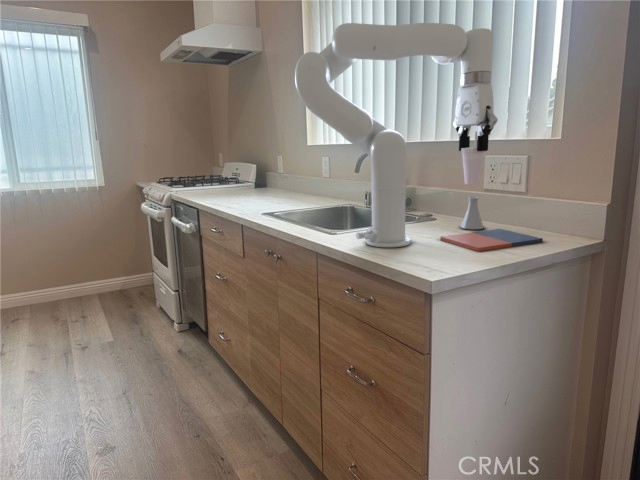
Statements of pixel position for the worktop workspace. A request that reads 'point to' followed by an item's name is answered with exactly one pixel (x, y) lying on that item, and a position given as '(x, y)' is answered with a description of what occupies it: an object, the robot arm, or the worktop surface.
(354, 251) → the worktop surface
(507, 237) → the sorting board
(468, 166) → the smoothie
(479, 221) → the flask
